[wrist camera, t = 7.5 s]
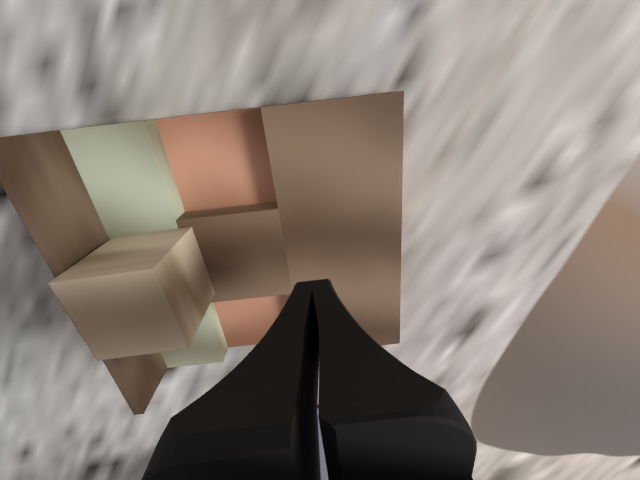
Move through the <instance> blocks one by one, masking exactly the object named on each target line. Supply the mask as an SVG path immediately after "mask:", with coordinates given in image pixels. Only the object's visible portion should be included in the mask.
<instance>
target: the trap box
mask: <svg viewBox="0 0 640 480" xmlns="http://www.w3.org/2000/svg"><path fill="white" fill-rule="evenodd" d="M403 105H404V91H399V92H389V93H381V94H372V95H363V96H354V97H346V98H337V99H328V100H319V101H311V102H302V103H293V104H284V105H276V106H267V107H258V108H249V109H241V110H232V111H223V112H214V113H206V114H197V115H188V116H179V117H171V118H162V119H153V120H144V121H136V122H127V123H118V124H109V125H101V126H92V127H83V128H74V129H66V130H58V131H50V132H41V133H33V134H25V135H17V136H9V137H1V138H0V183H1V185H2V186H3V188H4V190H5V192H6V193H7V195H8V197H9V199H10V200H11V202H12V204H13V205H14V207H15V209H16V211H17V212H18V214H19V216H20V218H21V219H22V221H23V223H24V225H25V226H26V228H27V230H28V231H29V233H30V235H31V237H32V238H33V240H34V242H35V244H36V245H37V247H38V249H39V251H40V252H41V254H42V256H43V258H44V259H45V261H46V263H47V264H48V266H49V268H50V270H51V271H52V273H53V275H54V277H55V278H56V277H58V276H59V275H60V274H62V273H63V272H65V271H66V270H68V269H69V268H70V267H72V266H73V265H75V264H76V263H77V262H79V261H80V260H82V259H83V258H85V257H86V256H87V255H89V254H90V253H92V252H93V251H94V250H96V249H97V248H99V247H100V246H102V245H103V244H104V243H106V242H107V241H109V240H110V239H111V238H115V237H122V236H129V235H136V234H143V233H150V232H157V231H165V230H172V229H179V228H186V227H192V229H193V232H194V235H195V237H196V240H197V243H198V246H199V249H200V252H201V255H202V257H203V260H204V263H205V266H206V269H207V272H208V274H209V277H210V280H211V283H212V286H213V289H214V292H215V295H214V297H213V299H212V301H211V303H210V305H209V307H208V309H207V311H206V313H205V315H204V317H203V320H202V322H201V324H200V326H199V328H198V330H197V332H196V334H195V336H194V338H193V340H192V342H191V345H190V347H189V349H182V350H175V351H167V352H159V353H152V354H144V355H137V356H129V357H121V358H114V359H106V360H103V362H104V363H105V365H106V367H107V369H108V370H109V372H110V374H111V375H112V377H113V379H114V381H115V382H116V384H117V386H118V388H119V389H120V391H121V393H122V395H123V396H124V398H125V400H126V401H127V403H128V405H129V407H130V408H131V410H132V412H133V414H134V415H136V414H144V412H145V410H146V408H147V406H148V404H149V402H150V400H151V398H152V396H153V394H154V393H155V391H156V389H157V387H158V385H159V383H160V381H161V379H162V377H163V375H164V374H165V372H166V370H167V368H169V367H179V366H188V365H198V364H207V363H217V362H223V361H224V358H225V355H226V352H227V348H228V347H235V346H244V345H254V344H258V343H259V341H260V340H261V339H262V338H263V336H264V335H265V334H266V332H267V331H268V330H269V328H270V327H271V325H272V324H273V323H274V321H275V320H276V318H277V317H278V315H279V313H280V312H281V310H282V308H283V307H284V305H285V303H286V302H287V300H288V298H289V296H290V294H291V292H292V290H293V288H294V285H295V284H296V283H297V282H303V281H312V280H321V279H329V280H330V281H331V283H332V285H333V288H334V290H335V292H336V293H337V295H338V297H339V298H340V300H341V302H342V303H343V304H344V306H345V307H346V309H347V310H348V311H349V313H350V314H351V315H352V317H353V318H354V319H355V320H356V321H357V323H358V324H359V325H360V326H361V327H362V328H363V329H364V330H365V331H366V332H367V333H368V334H369V335H370V336H371V337H372V338H373V339H374V340H375V341H376V342H377V343H378V344H379V345H388V344H397V343H400V284H401V224H402V164H403Z"/></svg>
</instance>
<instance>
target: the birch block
mask: <svg viewBox="0 0 640 480" xmlns="http://www.w3.org/2000/svg"><path fill="white" fill-rule="evenodd" d="M48 284H49V285H50V287H51V289H52V290H53V292H54V293H55V295H56V296H57V298H58V300H59V301H60V303H61V304H62V306H63V308H64V309H65V311H66V312H67V314H68V315H69V317H70V319H71V320H72V322H73V323H74V325H75V326H76V328H77V330H78V331H79V333H80V334H81V336H82V337H83V339H84V341H85V342H86V344H87V345H88V347H89V348H90V350H91V352H92V353H93V355H94V356H95V358H96V359H97V361H99V360H106V359H114V358H121V357H129V356H137V355H144V354H152V353H159V352H167V351H175V350H182V349H189V347H190V345H191V342H192V340H193V338H194V336H195V334H196V332H197V330H198V328H199V326H200V324H201V322H202V320H203V317H204V315H205V313H206V311H207V309H208V307H209V305H210V303H211V301H212V299H213V297H214V295H215V292H214V289H213V286H212V283H211V280H210V277H209V274H208V272H207V269H206V266H205V263H204V260H203V257H202V255H201V252H200V249H199V246H198V243H197V240H196V237H195V235H194V232H193V229H192V227H186V228H179V229H172V230H165V231H157V232H150V233H143V234H136V235H129V236H122V237H115V238H111V239H110V240H109V241H107V242H106V243H104V244H103V245H102V246H100V247H99V248H97V249H96V250H94V251H93V252H92V253H90V254H89V255H87V256H86V257H85V258H83V259H82V260H80V261H79V262H77V263H76V264H75V265H73V266H72V267H70V268H69V269H68V270H66V271H65V272H63V273H62V274H60V275H59V276H58V277H56V278H55V279H53V280H52V281H51V282H49V283H48Z"/></svg>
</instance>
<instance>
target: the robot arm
mask: <svg viewBox="0 0 640 480" xmlns="http://www.w3.org/2000/svg"><path fill="white" fill-rule="evenodd" d="M318 376H319V408H317V398H318ZM476 451H477V446H476V439H475V437H474V435H473V433H472V430H471V428H470V426H469V424H468V423H467V421H466V419H465V418H464V416H463V414H462V413H461V411H460V410H459V408H458V407H457V405H456V404H455V402H454V401H453V399H452V398H451V397H450V395H449V394H448V392H447V391H446V390H445V389H444V388H442V387H440V386H438V385H437V384H435V383H433V382H431V381H430V380H428V379H426V378H425V377H423V376H421V375H419V374H418V373H416V372H414V371H413V370H411V369H410V368H409V367H407V366H406V365H404V364H403V363H401V362H400V361H399V360H398V359H396V358H395V357H394V356H393V355H391V354H390V353H389V352H387V351H386V350H385V349H384V348H383V347H381V346H380V345H379V344H378V343H377V342H376V341H375V340H374V339H373V338H372V337H371V336H370V335H369V334H368V333H367V332H366V331H365V330H364V329H363V328H362V327H361V326H360V325H359V324H358V323H357V321H356V320H355V319H354V318H353V317H352V315H351V314H350V313H349V311H348V310H347V309H346V307H345V306H344V304H343V303H342V302H341V300H340V298H339V297H338V295H337V293H336V292H335V290H334V288H333V285H332V283H331V281H330V280H329V279H321V280H312V281H303V282H297V283H296V284H295V285H294V288H293V290H292V292H291V294H290V296H289V298H288V300H287V302H286V303H285V305H284V307H283V308H282V310H281V312H280V313H279V315H278V317H277V318H276V320H275V321H274V323H273V324H272V325H271V327H270V328H269V330H268V331H267V332H266V334H265V335H264V336H263V338H262V339H261V340H260V341H259V343H258V344H257V345H256V346H255V347H254V349H253V350H252V351H251V352H250V353H249V354H248V355H247V356H246V357H245V358H244V359H243V360H242V361H241V362H240V363H239V364H238V365H237V366H236V367H235V368H234V369H233V370H232V371H231V372H230V373H229V374H228V375H227V376H226V377H224V378H223V379H222V380H221V381H220V382H219V383H217V384H216V385H215V386H214V387H213V388H211V389H210V390H209V391H208V392H206V393H205V394H204V395H202V396H201V397H200V398H198V399H197V400H196V401H194V402H193V403H191V404H190V405H189V406H187V407H186V408H185V409H183V410H182V411H180V412H179V413H178V414H176V415H175V416H173V417H172V418H171V419H170V421H169V423H168V425H167V427H166V428H165V430H164V432H163V434H162V435H161V437H160V440H159V442H158V444H157V446H156V448H155V450H154V453H153V455H152V457H151V459H150V462H149V464H148V466H147V468H146V471H145V473H144V475H143V478H142V480H473V479H472V472H473V467H474V461H475V456H476Z"/></svg>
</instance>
